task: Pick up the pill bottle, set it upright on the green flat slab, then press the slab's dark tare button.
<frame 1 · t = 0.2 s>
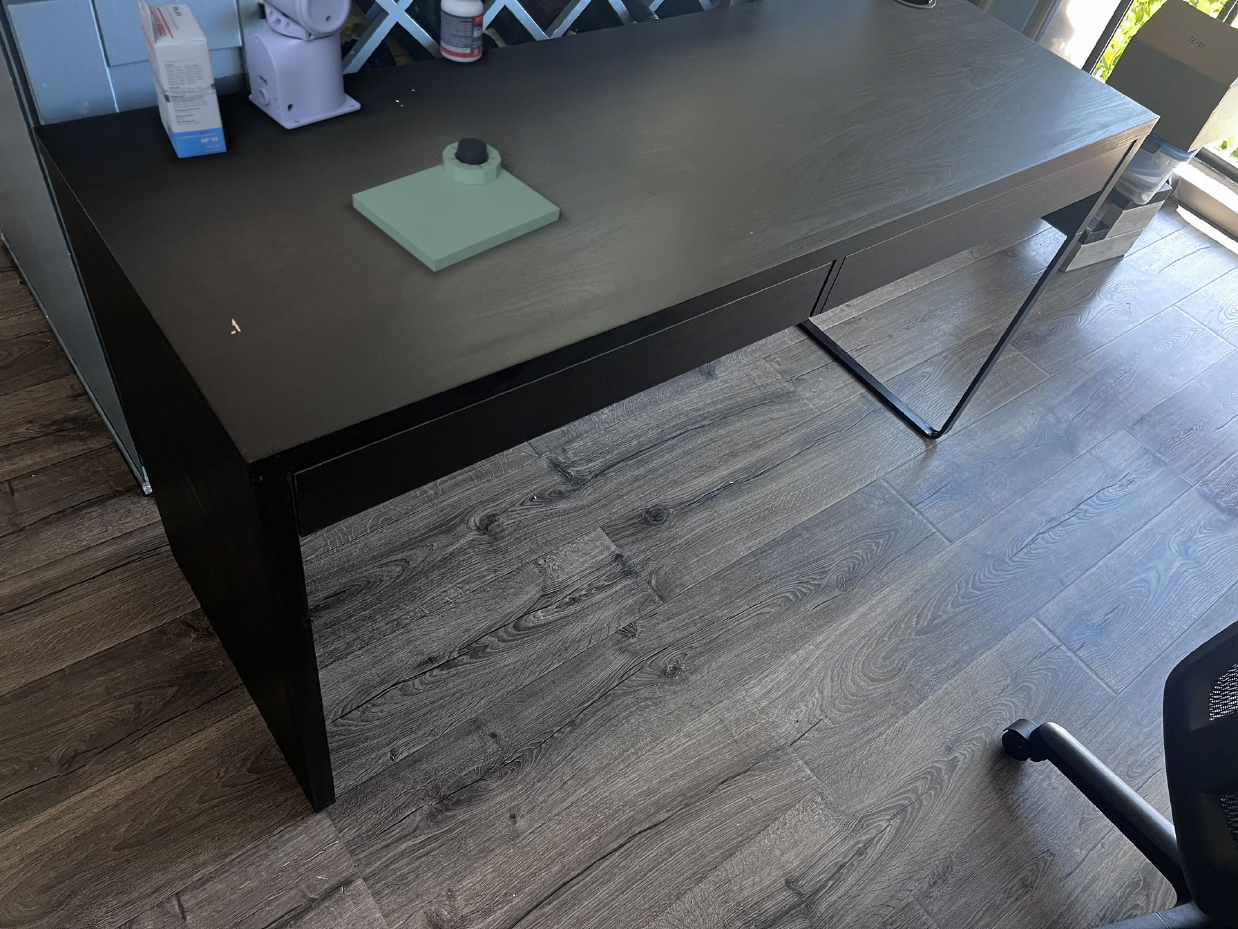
ink box: (194, 137, 98), on the table
pill bottle: (461, 55, 120), on the table
tare button: (472, 152, 97), point 3 cm above the table, slide at 0.1 cm
green flat slab: (457, 213, 95), on the table
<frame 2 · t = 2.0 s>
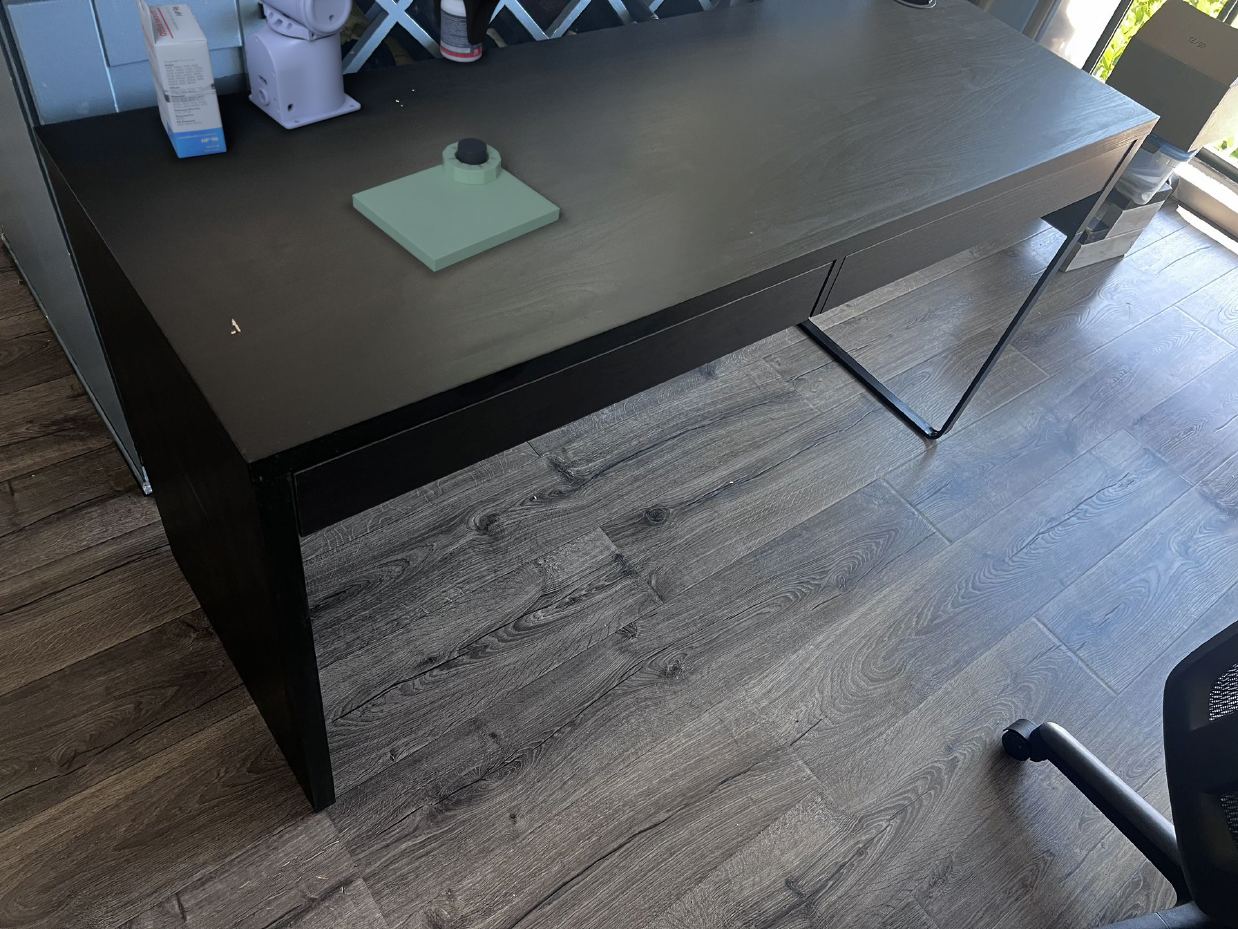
hand: (461, 33, 118), 3 cm above the table, tool pointing down, fingers closed on pill bottle, 5 cm apart
pill bottle: (461, 55, 120), on the table, touching gripper
everything else where it was.
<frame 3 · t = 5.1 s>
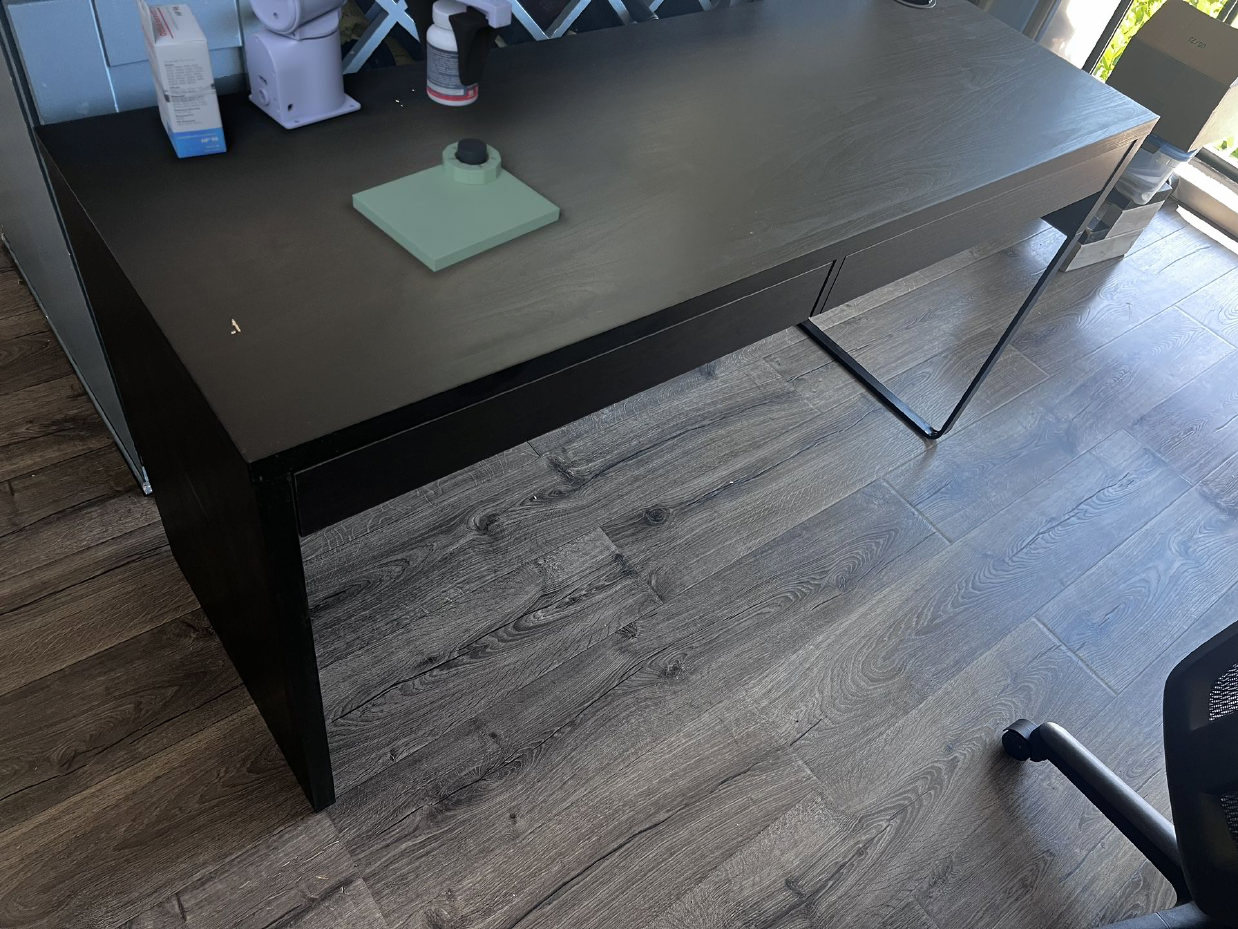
hand: (452, 71, 96), 10 cm above the table, tool pointing down, fingers closed on pill bottle, 5 cm apart
pill bottle: (452, 97, 98), point 7 cm above the table, touching gripper
everything else where it was.
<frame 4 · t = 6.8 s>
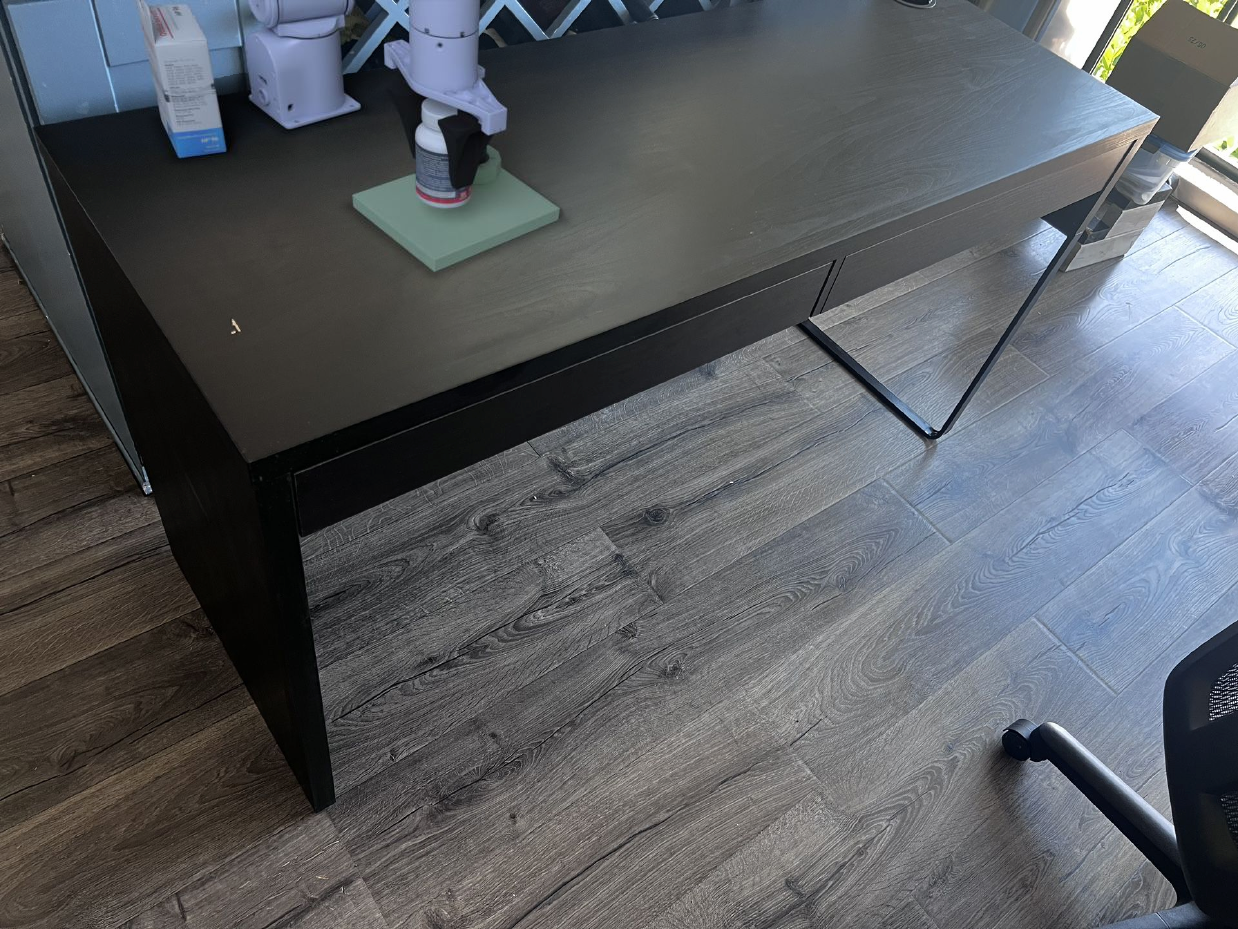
hand: (443, 171, 88), 7 cm above the table, tool pointing down, fingers closed on pill bottle, 5 cm apart
pill bottle: (443, 196, 90), point 4 cm above the table, touching gripper
everything else where it was.
when the fingers open (4 cm above the table, at t = 8.3 s): pill bottle stays where it is, resting on green flat slab.
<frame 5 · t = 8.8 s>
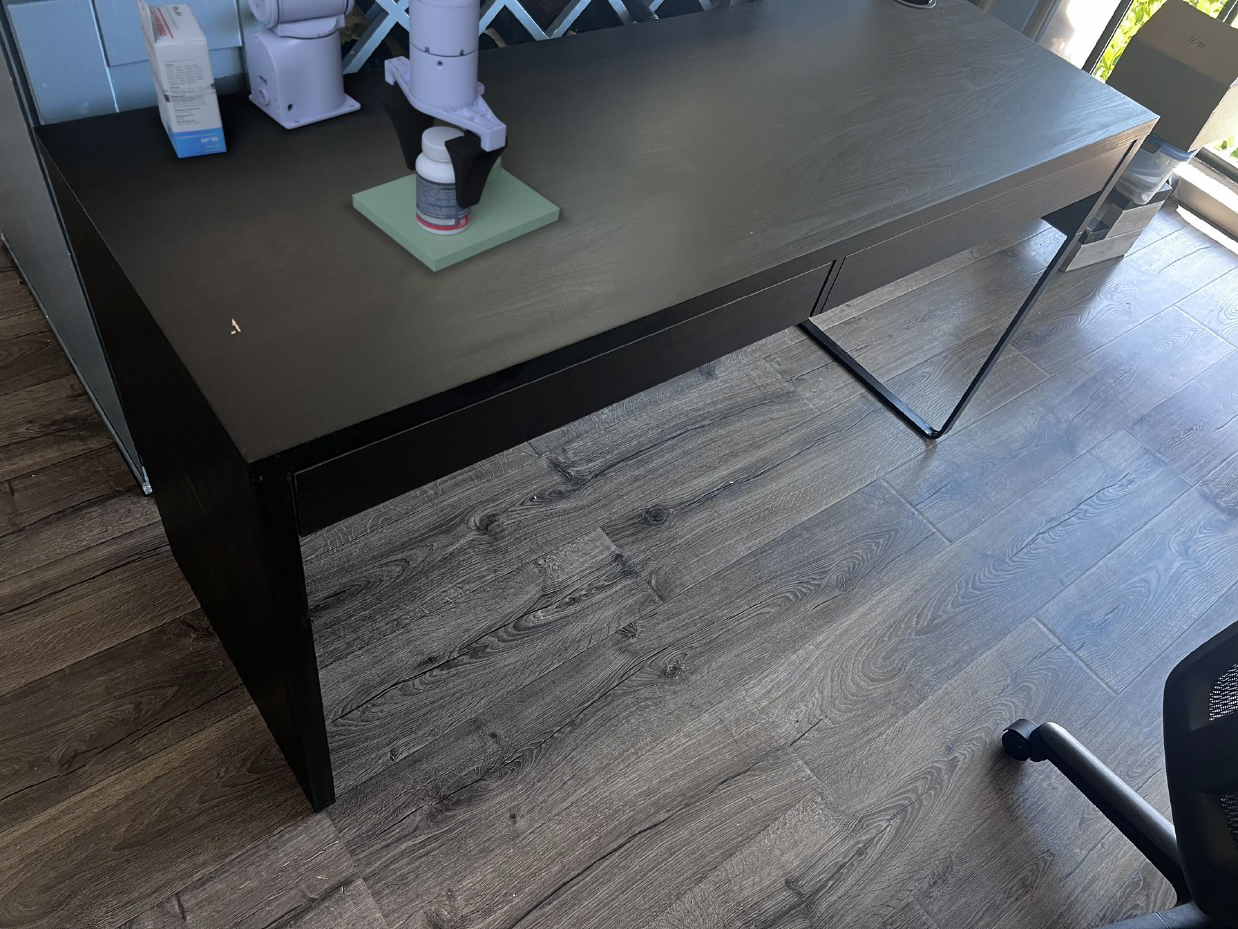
hand: (442, 185, 89), 5 cm above the table, tool pointing down, fingers open, 7 cm apart
pill bottle: (443, 223, 92), point 1 cm above the table, touching green flat slab
everything else where it was.
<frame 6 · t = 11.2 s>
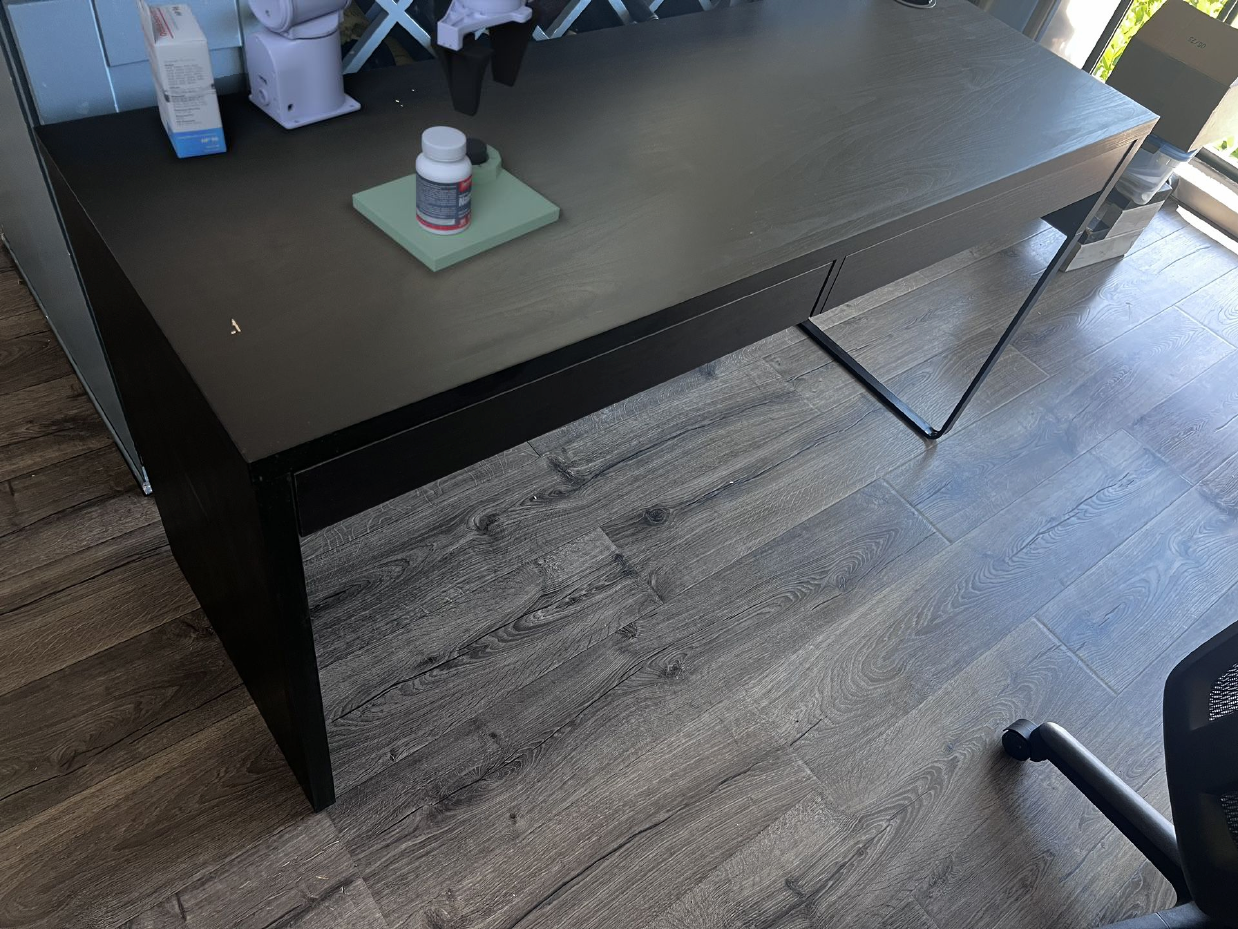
hand: (485, 97, 91), 10 cm above the table, tool pointing down, fingers open, 7 cm apart
nothing on the table moved.
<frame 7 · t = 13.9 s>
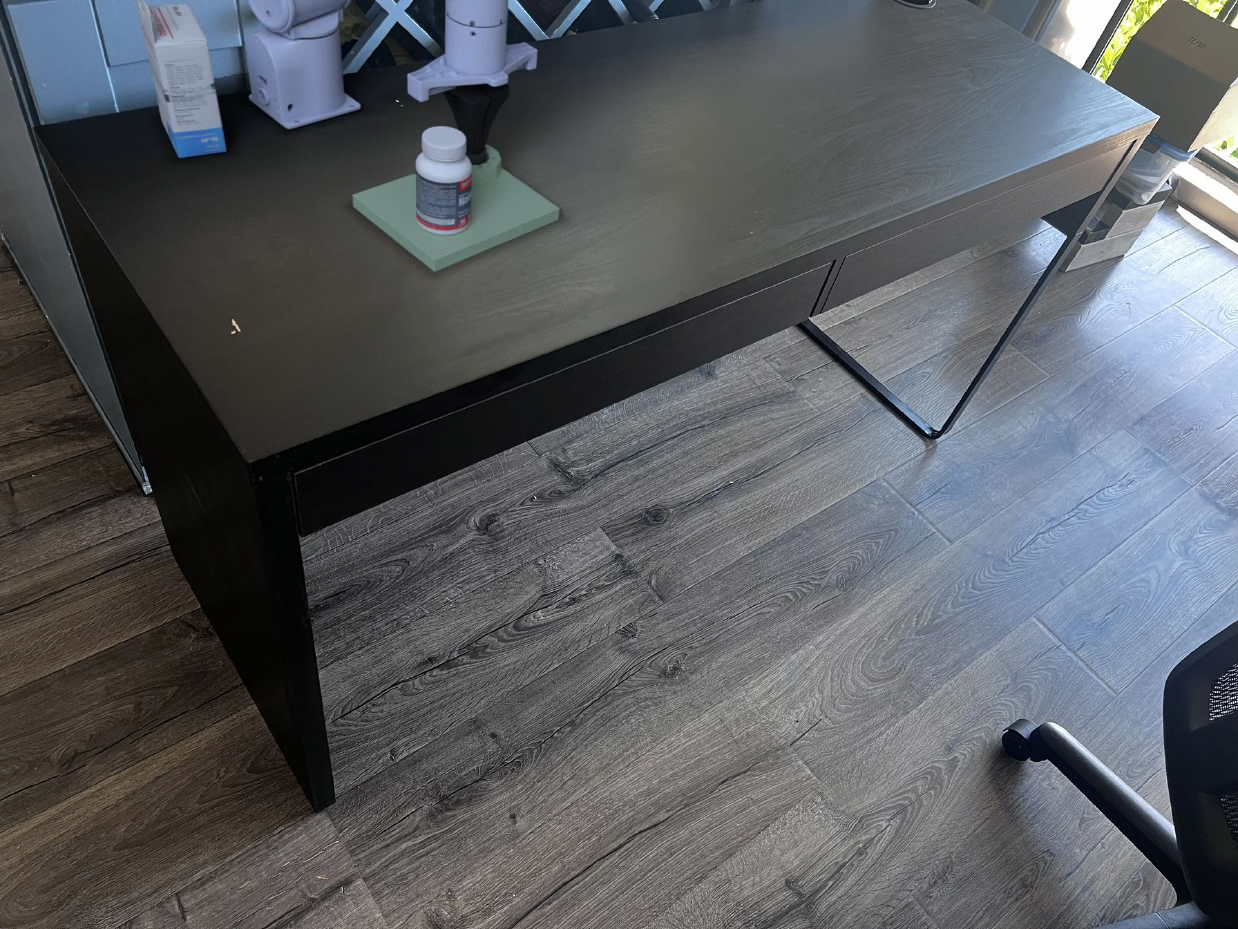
hand: (472, 148, 97), 4 cm above the table, tool pointing down, fingers closed, pressing on tare button
tare button: (472, 155, 98), point 3 cm above the table, slide at -0.3 cm, touching gripper
everything else where it was.
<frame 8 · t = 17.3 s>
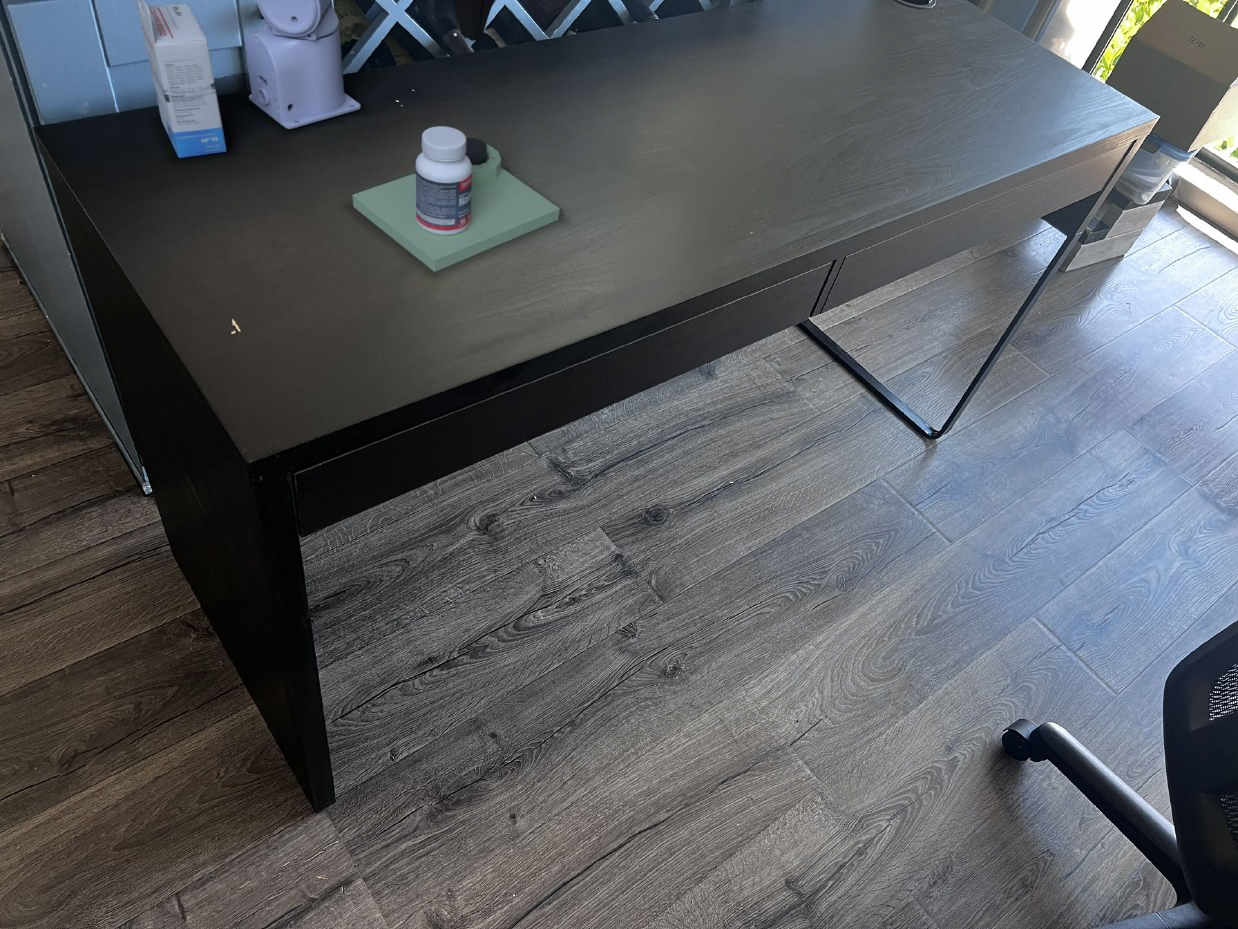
hand: (471, 36, 100), 10 cm above the table, tool pointing down, fingers closed
tare button: (472, 152, 97), point 3 cm above the table, slide at 0.1 cm
everything else where it was.
at the end: pill bottle 0.1 cm from the target spot on the green flat slab, point 1.2 cm above the green flat slab's base; pill bottle tilted 0°; tare button pushed in 1.0 cm at the most during the clip, back to where it started at the end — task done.
